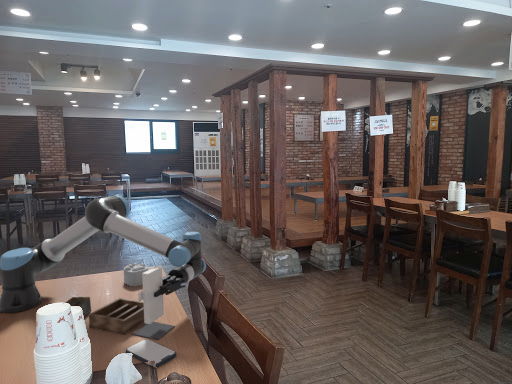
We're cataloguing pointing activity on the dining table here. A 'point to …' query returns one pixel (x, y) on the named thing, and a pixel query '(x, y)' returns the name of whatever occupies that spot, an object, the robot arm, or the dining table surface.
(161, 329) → the mat
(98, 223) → the robot arm
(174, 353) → the phone case
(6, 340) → the dining table surface
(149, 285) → the cover plate
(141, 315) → the crate
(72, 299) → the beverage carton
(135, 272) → the lumpy-topped squat cylinder
